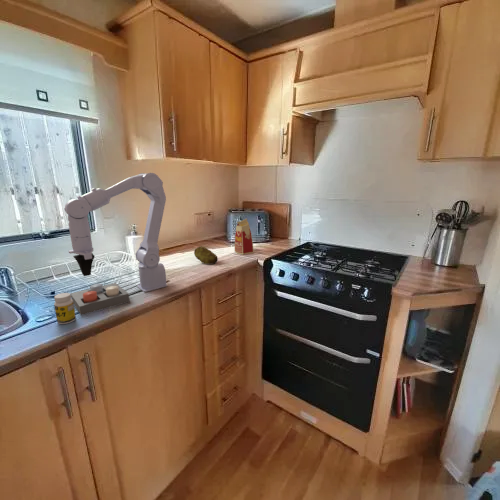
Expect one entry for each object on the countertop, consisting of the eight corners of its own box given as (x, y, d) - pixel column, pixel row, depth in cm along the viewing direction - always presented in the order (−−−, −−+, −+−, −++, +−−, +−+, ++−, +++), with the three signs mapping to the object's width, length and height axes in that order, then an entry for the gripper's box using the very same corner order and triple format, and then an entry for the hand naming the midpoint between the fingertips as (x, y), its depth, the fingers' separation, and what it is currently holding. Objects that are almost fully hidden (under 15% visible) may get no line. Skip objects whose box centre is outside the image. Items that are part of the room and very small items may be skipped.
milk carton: (245, 249, 168) (245, 217, 163) (254, 253, 160) (254, 219, 155) (232, 251, 163) (232, 218, 158) (241, 255, 156) (240, 220, 151)
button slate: (102, 290, 101) (100, 282, 100) (105, 294, 98) (104, 285, 98) (89, 293, 99) (88, 285, 98) (92, 297, 96) (91, 288, 95)
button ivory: (117, 293, 99) (116, 284, 98) (121, 296, 96) (120, 288, 96) (105, 296, 97) (104, 287, 96) (108, 299, 94) (107, 291, 93)
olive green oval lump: (206, 267, 134) (205, 251, 132) (192, 261, 144) (191, 246, 142) (219, 263, 140) (219, 248, 138) (205, 258, 149) (204, 244, 147)
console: (116, 290, 107) (115, 282, 106) (129, 301, 97) (128, 293, 96) (71, 301, 97) (70, 293, 96) (81, 315, 87) (79, 306, 86)
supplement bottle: (53, 324, 82) (48, 298, 80) (66, 316, 86) (61, 291, 84) (67, 325, 81) (62, 299, 79) (79, 317, 85) (75, 292, 83)
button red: (96, 298, 95) (94, 290, 94) (99, 302, 92) (97, 293, 91) (82, 302, 92) (81, 293, 91) (85, 306, 89) (84, 296, 88)
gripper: (62, 234, 93) (69, 272, 97) (70, 241, 83) (77, 283, 86) (86, 232, 98) (91, 268, 101) (96, 238, 87) (102, 278, 91)
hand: (86, 275), depth 94 cm, fingers closed
